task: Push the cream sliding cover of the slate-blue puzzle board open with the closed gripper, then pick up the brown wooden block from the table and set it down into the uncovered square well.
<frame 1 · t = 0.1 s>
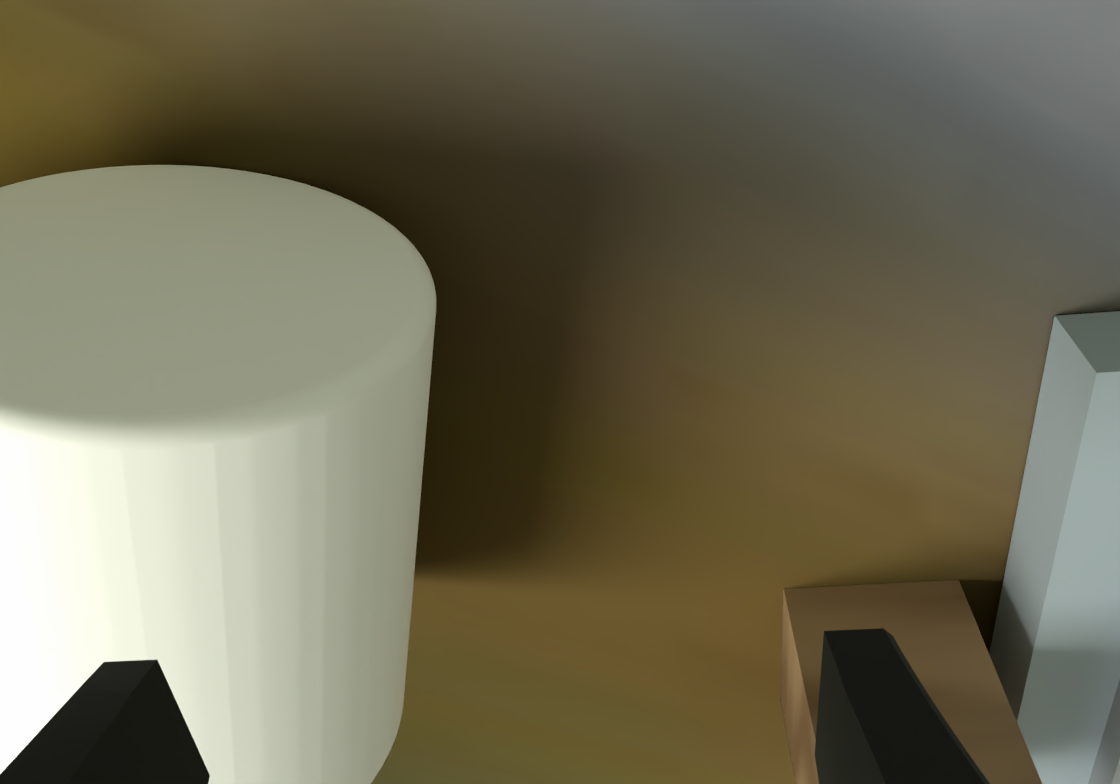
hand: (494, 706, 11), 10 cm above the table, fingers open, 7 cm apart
brown wooden block: (864, 642, 25), on the table
mug: (157, 372, 21), on the table
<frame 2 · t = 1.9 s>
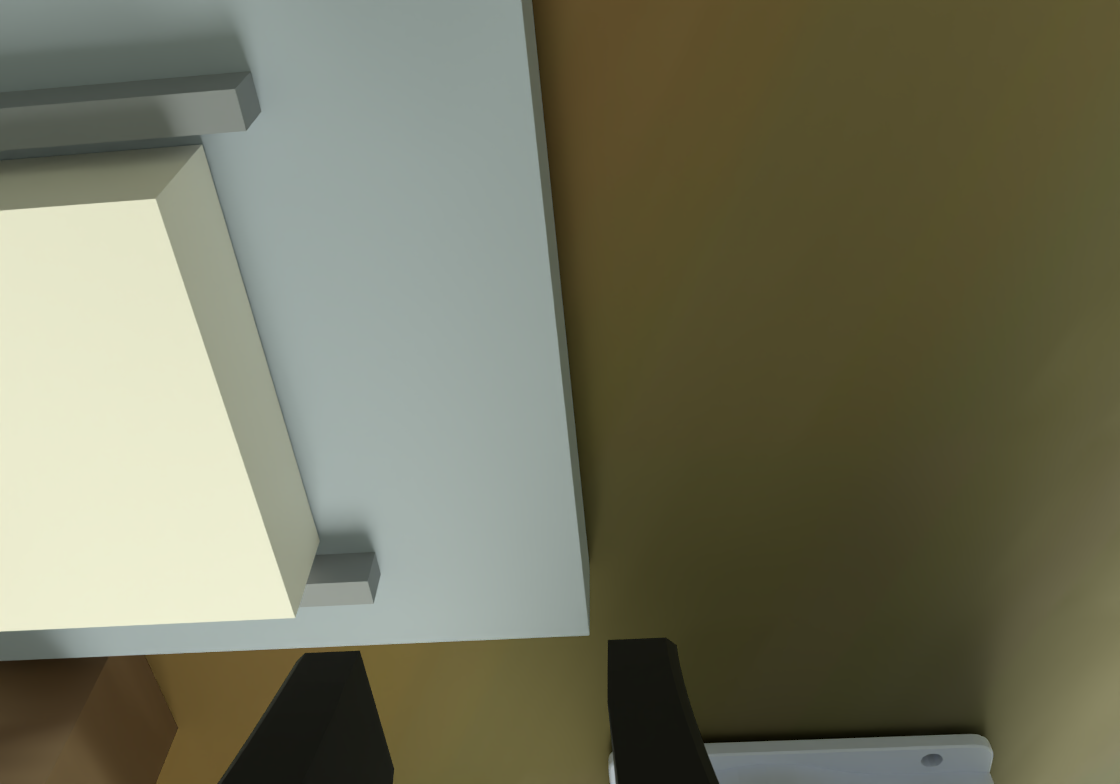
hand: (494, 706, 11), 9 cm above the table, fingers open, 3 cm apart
brown wooden block: (76, 678, 26), on the table
cover: (4, 433, 17), point 4 cm above the table, slide at 0.0 cm
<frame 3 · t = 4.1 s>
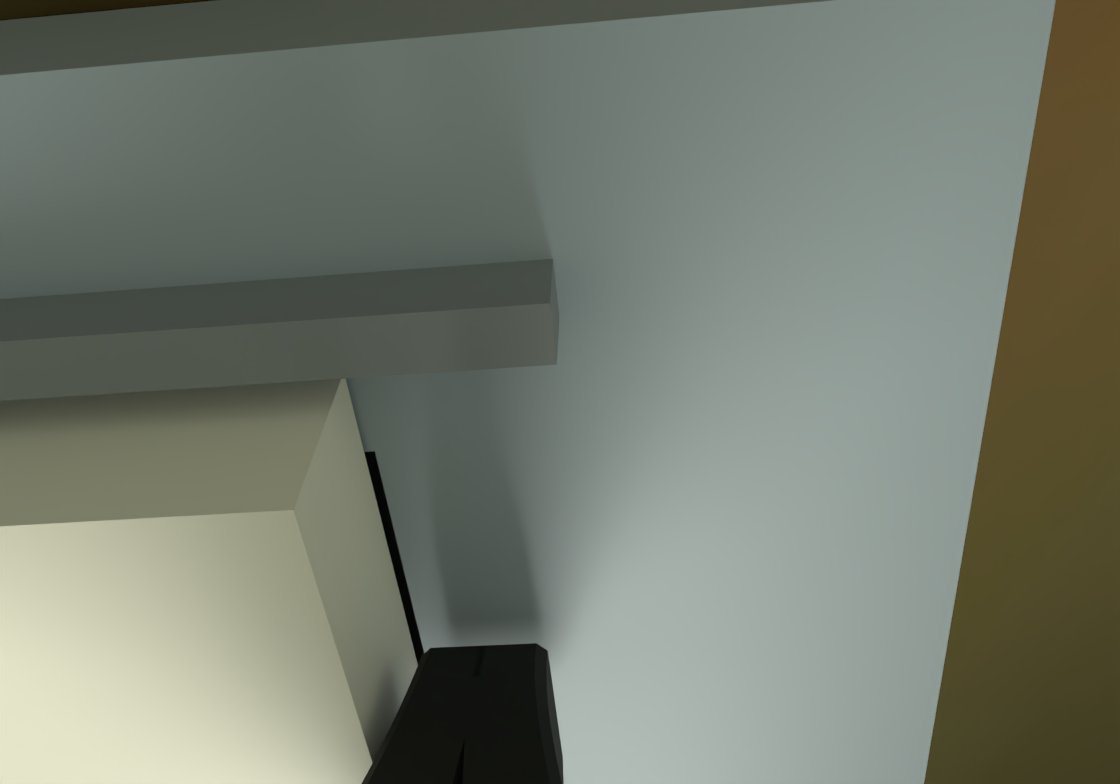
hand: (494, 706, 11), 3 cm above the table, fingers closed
cover: (29, 782, 11), point 4 cm above the table, slide at 1.1 cm, touching gripper
puzzle board: (83, 557, 14), on the table
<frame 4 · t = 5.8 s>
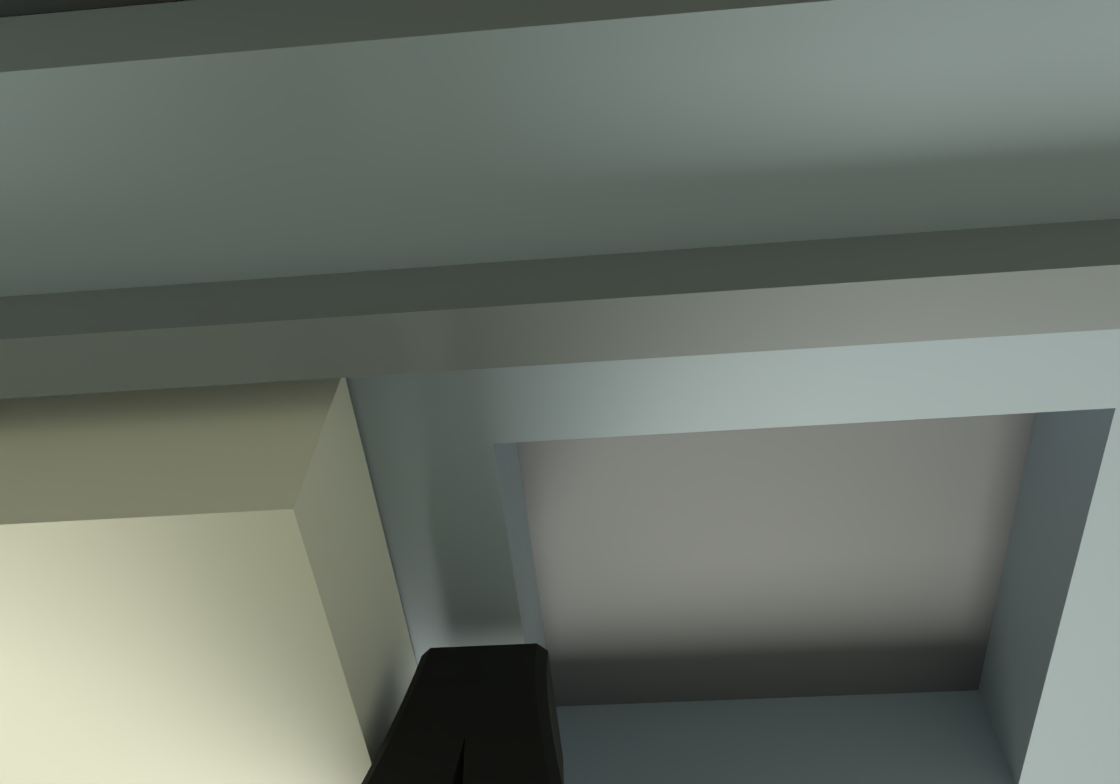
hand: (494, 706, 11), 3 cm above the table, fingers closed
cover: (27, 781, 11), point 4 cm above the table, slide at 8.3 cm, touching gripper
puzzle board: (609, 529, 14), on the table
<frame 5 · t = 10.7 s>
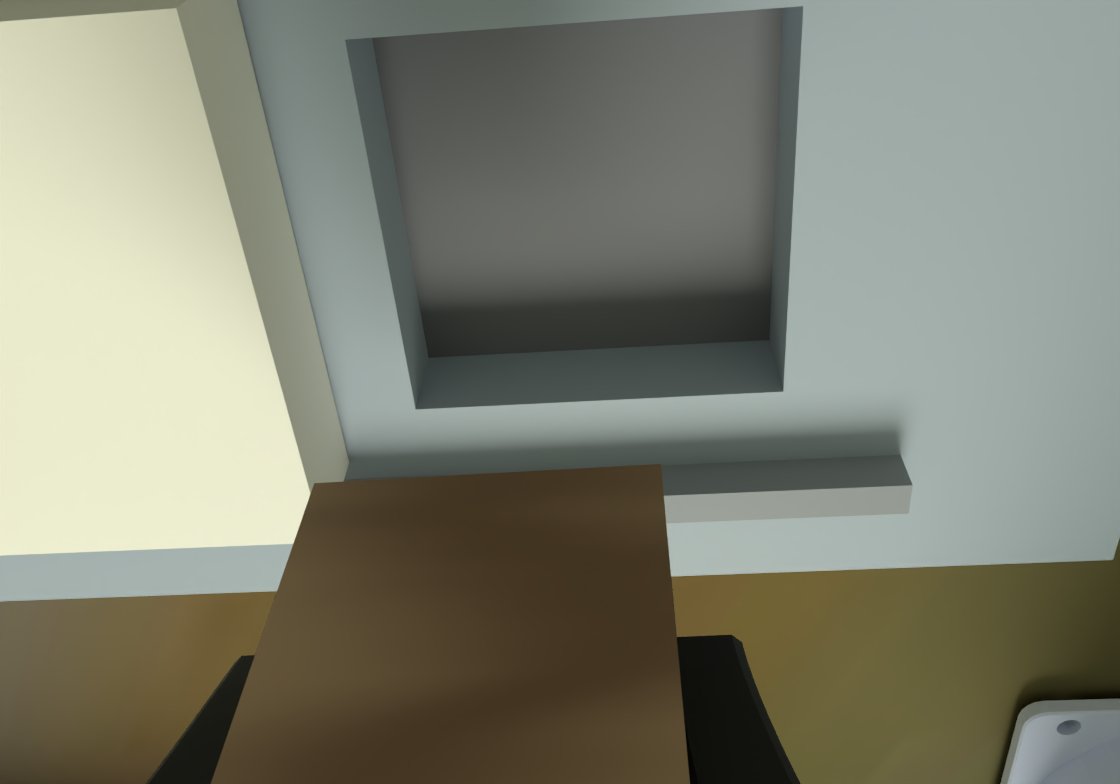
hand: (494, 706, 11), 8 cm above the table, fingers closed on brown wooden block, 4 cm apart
brown wooden block: (506, 597, 13), point 7 cm above the table, touching gripper
puzzle board: (464, 187, 17), on the table
when the fingers open (3 cm above the table, at t = 12.3 s): brown wooden block drops 1 cm, resting on puzzle board.
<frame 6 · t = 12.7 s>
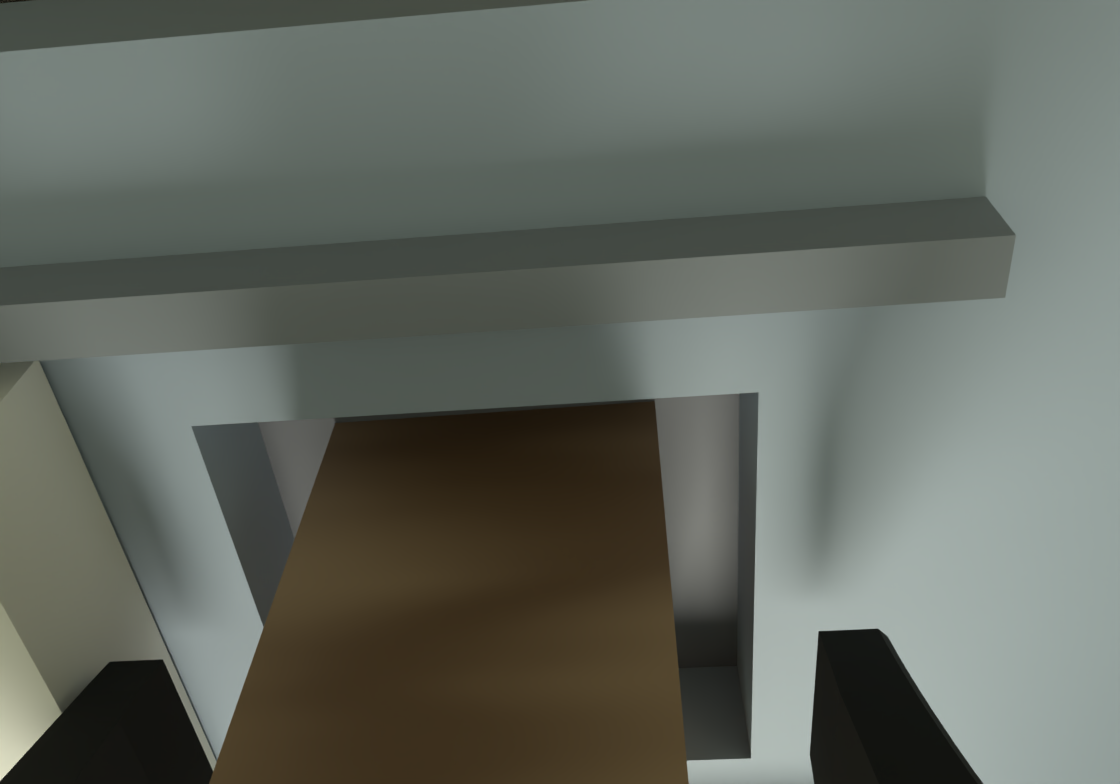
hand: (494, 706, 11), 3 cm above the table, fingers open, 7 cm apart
brown wooden block: (513, 532, 14), resting on puzzle board
puzzle board: (370, 511, 14), on the table
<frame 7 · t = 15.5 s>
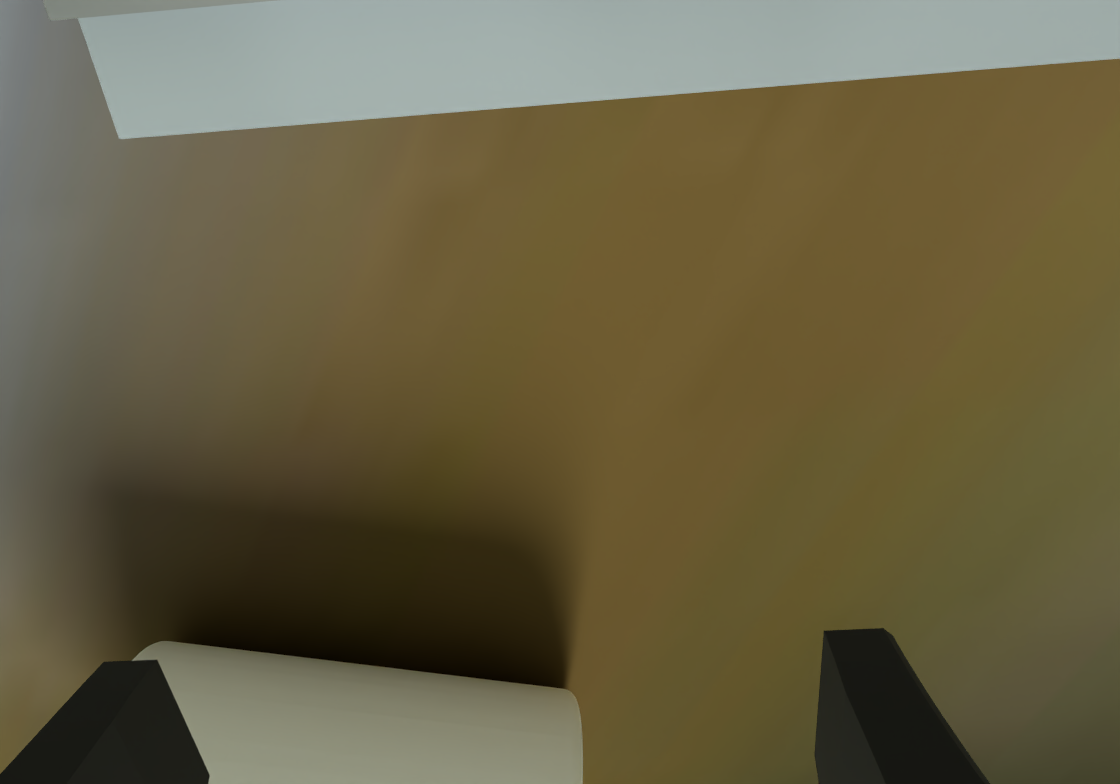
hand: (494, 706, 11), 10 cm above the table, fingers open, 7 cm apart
mug: (368, 745, 28), on the table
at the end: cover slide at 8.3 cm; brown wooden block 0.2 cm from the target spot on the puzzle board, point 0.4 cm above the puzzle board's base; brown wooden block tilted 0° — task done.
